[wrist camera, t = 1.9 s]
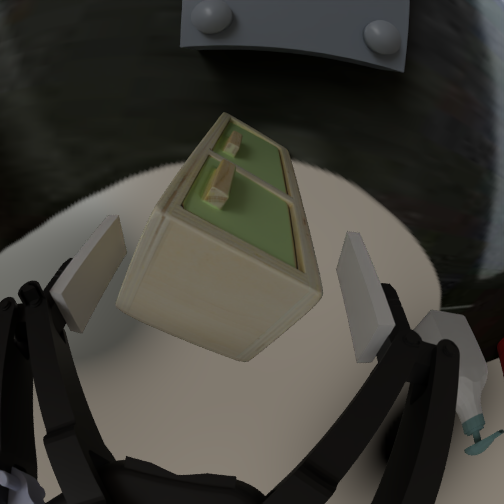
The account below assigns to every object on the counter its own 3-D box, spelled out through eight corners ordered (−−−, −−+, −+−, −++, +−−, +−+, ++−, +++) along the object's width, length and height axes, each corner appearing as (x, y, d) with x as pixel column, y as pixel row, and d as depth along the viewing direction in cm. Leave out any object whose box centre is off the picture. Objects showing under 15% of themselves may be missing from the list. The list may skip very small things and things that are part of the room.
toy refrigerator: (295, 144, 28) (337, 290, 11) (256, 196, 32) (244, 366, 15) (228, 104, 26) (154, 190, 9) (194, 161, 30) (108, 308, 13)
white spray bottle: (469, 309, 43) (518, 431, 21) (445, 336, 48) (482, 453, 26) (435, 302, 41) (487, 447, 19) (409, 332, 46) (445, 468, 24)
